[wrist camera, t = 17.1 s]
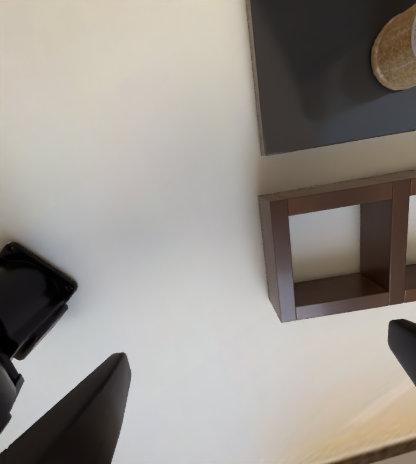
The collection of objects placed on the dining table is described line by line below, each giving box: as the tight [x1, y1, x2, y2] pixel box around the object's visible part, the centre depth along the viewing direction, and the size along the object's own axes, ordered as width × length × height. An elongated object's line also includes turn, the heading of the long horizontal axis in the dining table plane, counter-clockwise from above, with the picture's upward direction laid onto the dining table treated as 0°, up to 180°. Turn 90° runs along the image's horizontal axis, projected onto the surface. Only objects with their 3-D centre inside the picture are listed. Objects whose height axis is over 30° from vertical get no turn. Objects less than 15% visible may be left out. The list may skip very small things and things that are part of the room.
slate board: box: [246, 0, 416, 156], centre depth 17 cm, size 20×12×1 cm, turn 99°
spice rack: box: [258, 170, 416, 323], centre depth 19 cm, size 18×10×4 cm, turn 99°
